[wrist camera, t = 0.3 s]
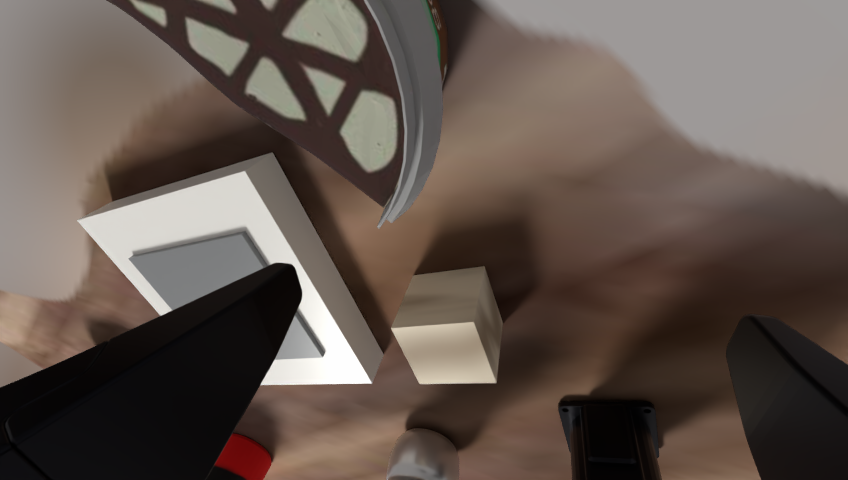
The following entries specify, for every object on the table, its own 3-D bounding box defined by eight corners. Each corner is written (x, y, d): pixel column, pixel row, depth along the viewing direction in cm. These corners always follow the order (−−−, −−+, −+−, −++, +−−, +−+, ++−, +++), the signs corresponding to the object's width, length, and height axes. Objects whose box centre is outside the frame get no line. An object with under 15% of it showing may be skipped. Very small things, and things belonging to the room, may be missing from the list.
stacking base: (383, 354, 32) (370, 387, 30) (240, 361, 38) (219, 389, 36) (272, 152, 24) (240, 173, 21) (111, 201, 30) (71, 223, 27)
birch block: (502, 322, 27) (496, 382, 23) (436, 327, 29) (419, 384, 25) (484, 265, 25) (473, 322, 21) (413, 274, 27) (391, 328, 23)
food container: (535, 30, 17) (531, 82, 9) (450, 134, 21) (392, 239, 13) (297, -192, 15) (17, -379, 7) (247, -32, 18) (23, -35, 10)
